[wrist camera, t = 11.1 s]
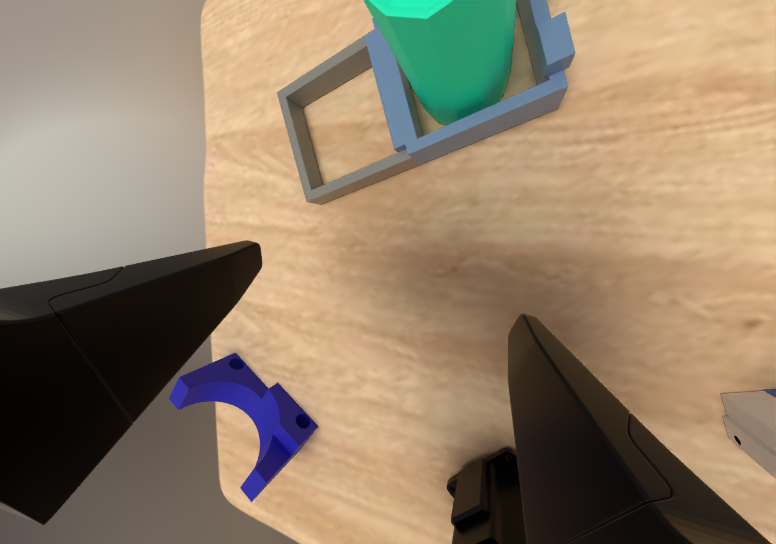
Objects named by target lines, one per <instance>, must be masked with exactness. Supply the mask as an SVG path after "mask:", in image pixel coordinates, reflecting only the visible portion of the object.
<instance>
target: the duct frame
mask: <svg viewBox="0 0 776 544" xmlns="http://www.w3.org/2000/svg"><path fill="white" fill-rule="evenodd" d="M516 3H517V7H518V11H519V15H520V19H521V23H522V27H523V31H524V34H525V38H526V42H527V46H528V50H529V54H530V58H531V62H532V66H533V70H534V74H535V78H536V82H537V86H535V87H532V88H530V89H528V90H526V91H523V92H521V93H519V94H517V95H514V96H512V97H510V98H508V99H505V100H503V101H501V102H499V103H496V104H494V105H492V106H490V107H487V108H485V109H483V110H481V111H478V112H476V113H474V114H472V115H469V116H467V117H465V118H463V119H460V120H458V121H456V122H454V123H451V124H449V125H447V126H445V127H442V128H440V129H438V130H436V131H433V132H431V133H429V134H427V135H424V136H423V134H422V130H421V126H420V123H419V119H418V115H417V111H416V107H415V104H414V100H413V96H412V92H411V88H410V84H409V81H408V79H407V77H406V75H405V73H404V71H403V70H402V68H401V66H400V64H399V63H398V61H397V59H396V57H395V55H394V54H393V52H392V50H391V48H390V47H389V45H388V43H387V41H386V39H385V38H384V36H383V34H382V32H381V31H380V29H379V27H378V25H377V23H376V22H375V20H374V18H372V19H373V23H374V27H375V29H374V30H372V31H371V32H369V33H368V34H366V35H365V36H363V37H362V38H360V39H359V40H357V41H355V42H354V43H352V44H351V45H349V46H348V47H346V48H345V49H343V50H342V51H340V52H339V53H337V54H335V55H334V56H332V57H331V58H329V59H328V60H326V61H325V62H323V63H322V64H320V65H318V66H317V67H315V68H314V69H312V70H311V71H309V72H308V73H306V74H305V75H303V76H301V77H300V78H298V79H297V80H295V81H294V82H292V83H291V84H289V85H288V86H286V87H285V88H283V89H281V90H280V91H278V92H277V95H278V98H279V102H280V106H281V109H282V113H283V117H284V120H285V124H286V128H287V131H288V135H289V139H290V143H291V146H292V150H293V154H294V157H295V161H296V165H297V168H298V172H299V176H300V179H301V183H302V187H303V190H304V194H305V198H306V202H310V203H315V204H320V205H322V204H324V203H327V202H329V201H332V200H334V199H337V198H339V197H342V196H344V195H346V194H349V193H351V192H354V191H356V190H359V189H361V188H364V187H366V186H369V185H371V184H374V183H376V182H379V181H381V180H383V179H386V178H388V177H391V176H393V175H396V174H398V173H401V172H403V171H406V170H408V169H411V168H413V167H416V166H418V165H421V164H423V163H425V162H428V161H430V160H433V159H435V158H438V157H440V156H443V155H445V154H448V153H450V152H453V151H455V150H458V149H460V148H462V147H465V146H467V145H470V144H472V143H475V142H477V141H480V140H482V139H485V138H487V137H490V136H492V135H495V134H497V133H500V132H502V131H504V130H507V129H509V128H512V127H514V126H517V125H519V124H522V123H524V122H527V121H529V120H532V119H534V118H537V117H539V116H541V115H544V114H546V113H549V112H551V111H554V110H556V109H558V107H559V104H560V102H561V100H562V98H563V96H564V94H565V92H566V89H567V87H568V84H567V80H566V76H565V72H564V69H566V68H568V67H569V66H570V64H571V62H572V59H573V57H574V55H575V49H574V45H573V41H572V37H571V33H570V29H569V25H568V21H567V17H566V13H565V12H563V13H562V14H560V15H558V16H556V17H554V18H552V19H551V16H550V12H549V8H548V4H547V0H516ZM371 67H373V71H374V74H375V78H376V82H377V86H378V89H379V93H380V97H381V101H382V105H383V108H384V112H385V116H386V120H387V124H388V127H389V131H390V135H391V139H392V142H393V146H394V149H395V150H396V151H397V152H398V153H396V154H393V155H391V156H389V157H387V158H384V159H382V160H380V161H377V162H375V163H373V164H371V165H368V166H366V167H364V168H361V169H359V170H357V171H355V172H352V173H350V174H348V175H345V176H343V177H341V178H339V179H336V180H334V181H332V182H329V183H327V184H325V185H323V183H322V179H321V175H320V171H319V168H318V164H317V160H316V157H315V153H314V149H313V145H312V142H311V138H310V134H309V131H308V127H307V123H306V119H305V116H304V112H303V107H305V106H306V105H308V104H310V103H311V102H313V101H315V100H317V99H318V98H320V97H322V96H323V95H325V94H327V93H328V92H330V91H332V90H333V89H335V88H337V87H339V86H340V85H342V84H344V83H345V82H347V81H349V80H350V79H352V78H354V77H355V76H357V75H359V74H361V73H362V72H364V71H366V70H367V69H369V68H371Z"/></svg>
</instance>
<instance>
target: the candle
mask: <svg viewBox="0 0 776 544" xmlns="http://www.w3.org/2000/svg"><path fill="white" fill-rule="evenodd" d="M364 2H365V4H366V6H367V7H368V9H369V11H370V13H371V15H372V16H373V18H374V20H375V22H376V23H377V25H378V27H379V29H380V31H381V32H382V34H383V36H384V38H385V39H386V41H387V43H388V45H389V47H390V48H391V50H392V52H393V54H394V55H395V57H396V59H397V61H398V63H399V64H400V66H401V68H402V70H403V71H404V73H405V75H406V77H407V79H408V80H409V82H410V84H411V86H412V88H413V89H414V91H415V93H416V95H417V96H418V98H419V100H420V102H421V104H422V105H423V107H424V109H425V110H426V111H427V112H428V113H429V114H430V115H431V116H432V117H433V118H434V119H435V120H436V121H438V122H439V123H440V124H446V125H449V124H451V123H454V122H456V121H458V120H460V119H463V118H465V117H467V116H469V115H472V114H474V113H476V112H478V111H481V110H483V109H485V108H487V107H490V106H492V105H494V104H496V103H497V102H498V101H499V100H500V99H501V98H502V97H503V94H504V91H505V88H506V84H507V81H508V78H509V75H510V71H511V61H512V49H513V36H514V24H515V11H516V0H364Z"/></svg>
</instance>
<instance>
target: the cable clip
mask: <svg viewBox="0 0 776 544" xmlns="http://www.w3.org/2000/svg"><path fill="white" fill-rule="evenodd" d="M169 399H170V400H171V401H172V403H173V404H174V405H175V406H176V408H177V409H178V410H179V409H182V408H184V407H186V406H189V405H192V404H195V403H199V402H207V401H218V402H224V403H228V404H231V405H234V406H236V407H238V408H240V409H241V410H243V411H244V412H245V413H246V414H248V415H249V417H250V418H251V419H252V420H253V422H254V423H255V425H256V427H257V430H258V433H259V438H260V452H259V457H258V460H257V463H256V466H255V468H254V469H253V471H252V472H251V474H250V475H249V476H248V478H247V479H246V480H245V482H244V483H243V485H242V486H241V487H240V488H241V489H242V491H243V492H244V493H245V494H246V496H247V497H248V498H249V499H250V501H251V502H252V501H253V500H254V499H255V498H256V497H257V496H258V494H259V493H260V492H261V491H262V490H263V489H264V488H265V487H266V486H267V485H268V484H269V483H270V482H271V480H272V479H273V478H274V477H275V476H276V475H277V474H278V473H279V472H280V471H281V470H282V469H283V468H284V467H285V465H286V464H287V463H288V462H289V461H290V460H291V459H292V458H293V457H294V456H295V455H296V454H297V453H298V451H299V450H300V449H301V448H302V446H303V445H304V444H305V442H306V441H307V440H308V439H309V437H310V436H311V435H312V434H313V432H314V431H315V430H316V428H317V427H318V425H317V424H316V423H315V422H314V421H313V420H312V419H311V418H310V417H309V416H308V415H307V414H306V413H305V412H304V410H303V409H302V408H301V407H300V406H299V405H298V404H297V403H296V402H295V401H294V400H293V399H292V398H291V397H290V395H289V394H288V393H287V392H286V391H285V390H284V389H283V388H282V387H281V386H280V385H279V384H278V383H277V384H275V385H274V386H272V387H271V388H269V389H268V388H267V387H266V385H265V384H264V383H263V382H262V381H261V380H260V379H259V378H258V377H257V376H256V375H255V373H254V372H253V371H252V370H251V369H250V368H249V367H248V366H247V365H246V364H245V362H244V361H243V360H242V359H241V358H240V357H239V356H238V355H237V354H236V353H234V354H231V355H229V356H227V357H224V358H222V359H220V360H218V361H215V362H213V363H211V364H208V365H206V366H204V367H202V368H199V369H197V370H195V371H192V372H190V373H188V374H186V375H183V376H181V377H179V379H178V381H177V383H176V385H175V387H174V389H173V391H172V394H171V395H170V397H169Z"/></svg>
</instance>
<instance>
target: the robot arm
mask: <svg viewBox="0 0 776 544" xmlns="http://www.w3.org/2000/svg"><path fill="white" fill-rule="evenodd" d="M261 268H262V256H261V247H260V245H259V244H258V243H256V242H252V241H248V240H246V241H241V242H236V243H232V244H227V245H222V246H217V247H213V248H208V249H203V250H198V251H194V252H189V253H185V254H179V255H175V256H170V257H165V258H161V259H156V260H151V261H146V262H142V263H137V264H132V265H127V266H125V267H117V268H113V269H108V270H103V271H98V272H93V273H88V274H83V275H77V276H72V277H66V278H61V279H55V280H49V281H43V282H37V283H31V284H25V285H19V286H14V287H8V288H2V289H0V509H3V510H5V511H8V512H10V513H13V514H15V515H18V516H20V517H23V518H25V519H28V520H30V521H33V522H35V523H38V524H40V525H45V524H46V523H47V522H48V521H49V520H50V519H51V518H52V517H53V516H54V515H55V513H56V512H57V511H58V510H59V509H60V508H61V507H62V505H63V504H64V503H65V502H66V501H67V500H68V498H69V497H70V496H71V495H72V494H73V493H74V492H75V490H76V489H77V488H78V487H79V486H80V485H81V483H82V482H83V481H84V480H85V479H86V478H87V477H88V475H89V474H90V473H91V472H92V471H93V470H94V468H95V467H96V466H97V465H98V464H99V463H100V461H101V460H102V459H103V458H104V457H105V456H106V455H107V453H108V452H109V451H110V450H111V449H112V448H113V446H114V445H115V444H116V443H117V442H118V441H119V440H120V438H121V437H122V436H123V435H124V434H125V432H126V431H127V430H128V429H129V428H130V427H131V426H132V425H133V422H135V420H137V418H138V417H139V416H140V415H141V414H142V413H143V412H144V410H145V409H146V408H147V407H148V406H149V405H150V403H151V402H152V401H153V400H154V399H155V398H156V397H157V395H158V394H159V393H160V392H161V391H162V390H163V388H164V387H165V386H166V385H167V384H168V383H169V382H170V380H171V379H172V378H173V377H174V376H175V375H176V373H177V372H178V371H179V370H180V369H181V368H182V367H183V365H184V364H185V363H186V362H187V361H188V360H189V358H190V357H191V356H192V355H193V354H194V353H195V352H196V350H197V349H198V348H199V347H200V346H201V345H202V343H203V342H204V341H205V340H206V339H207V338H208V336H209V335H210V334H211V333H212V332H213V331H214V330H215V328H216V327H217V326H218V325H219V324H220V323H221V321H222V320H223V319H224V318H225V317H226V316H227V315H228V313H229V312H230V311H231V310H232V309H233V308H234V306H235V305H236V304H237V303H238V301H239V300H240V299H241V297H242V296H243V295H244V293H245V292H246V290H247V289H248V287H249V286H250V284H251V283H252V282H253V280H254V279H255V277H256V276H257V274H258V273H259V271H260V270H261ZM508 384H509V393H510V402H511V410H512V419H513V428H514V436H515V445H516V453H517V454H516V453H515V452H514V451H513V450H512V449H510V448H503V449H502V450H500V451H498V452H496V453H495V454H493V455H491V456H490V457H488V458H486V459H480V460H479V461H477V462H475V463H474V464H472V465H470V466H468V467H467V468H465V469H463V470H461V471H460V472H459V473H458V475H456V476H455V477H453V478H451V479H450V480H449V481H448V483H447V490H448V492H449V493H450V494H451V495H452V496H453V498H454V503H453V509H452V515H451V523H452V524H453V526H454V532H453V539H452V544H771V543H770V542H769V541H768V540H767V539H766V538H764V537H763V536H762V535H761V534H760V533H759V532H758V531H757V530H756V529H755V528H753V527H752V526H751V525H750V524H749V523H748V522H747V521H746V520H745V519H744V518H743V517H741V516H740V515H739V514H738V513H737V512H736V511H735V510H734V509H733V508H732V507H730V506H729V505H728V504H727V503H726V502H725V501H724V500H723V499H722V498H721V497H719V496H718V495H717V494H716V493H715V492H714V491H713V490H712V489H711V488H710V487H708V486H707V485H706V484H705V483H704V482H703V481H702V480H701V479H700V478H699V477H697V476H696V475H695V474H694V473H693V472H692V471H691V470H690V469H689V468H688V467H687V466H686V465H684V464H683V463H682V462H681V461H680V460H679V459H678V458H677V457H676V456H675V455H674V454H673V453H671V452H670V451H669V450H668V449H667V448H666V447H665V446H664V445H663V444H662V443H661V442H660V441H659V440H658V439H657V438H656V437H655V436H654V435H653V434H652V433H651V432H650V431H649V430H648V429H647V428H646V427H645V426H644V425H643V424H642V423H641V422H640V421H639V420H638V419H637V418H636V417H635V416H634V415H633V414H630V412H629V410H628V409H627V408H626V407H625V406H624V405H623V404H622V403H621V402H620V401H619V400H618V399H617V398H616V397H615V396H614V395H613V394H612V393H611V392H610V391H609V390H608V389H607V388H606V387H605V386H604V385H603V384H602V383H601V382H600V381H599V380H598V379H597V378H596V377H595V376H594V375H593V374H592V373H591V372H590V371H589V370H588V369H587V368H586V367H585V366H584V365H583V364H582V363H581V362H580V361H579V360H578V359H577V358H576V357H575V356H574V355H573V354H572V353H571V352H570V351H569V350H568V349H567V348H566V347H565V346H564V345H563V344H562V343H561V342H560V341H559V340H558V339H557V338H556V337H555V336H554V335H553V334H552V333H551V332H550V331H549V330H548V329H547V328H546V327H545V326H544V325H543V324H542V323H541V322H540V321H539V320H538V319H537V318H536V317H534V316H530V315H526V314H521V315H520V316H519V317H518V319H517V320H516V322H515V324H514V325H513V327H512V329H511V330H510V333H509V337H508ZM506 455H510V456H512V457H507V456H506ZM452 486H454V487H455V488H453V487H452Z"/></svg>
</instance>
